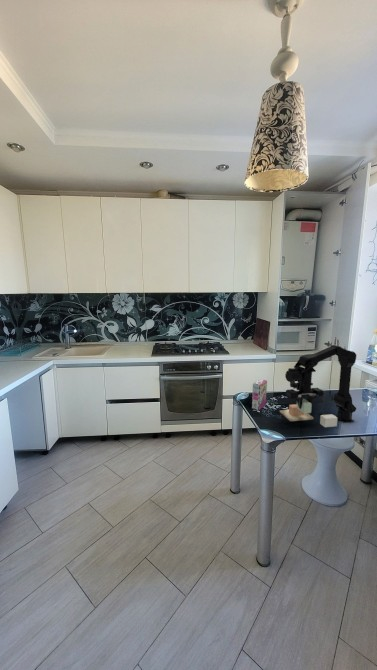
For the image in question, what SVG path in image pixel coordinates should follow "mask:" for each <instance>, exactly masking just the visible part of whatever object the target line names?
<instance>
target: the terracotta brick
mask: <svg viewBox="0 0 377 670" xmlns="http://www.w3.org/2000/svg"><path fill="white" fill-rule="evenodd" d="M296 407H297V403H296V404H288V410H289V414H291V415H292V416H299V415H304V413H303V412H301V411H300V410H299V409H297V408H296Z"/></svg>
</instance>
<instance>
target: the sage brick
mask: <svg viewBox="0 0 377 670" xmlns="http://www.w3.org/2000/svg"><path fill="white" fill-rule="evenodd" d="M296 404H297V407H296V408H297V409H299V410H300V411H301V412H303V413H308V414H311V413H312V405H313V403H312V404H311V403H310V402H308V401H307V399H305V398H303V401H302V407H301V409H300V408H299V406H298V403H297V402H296Z"/></svg>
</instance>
